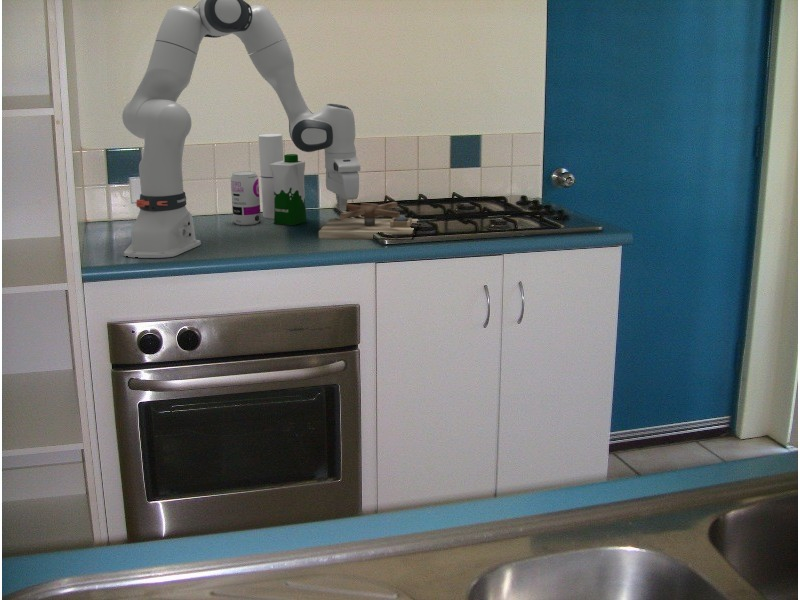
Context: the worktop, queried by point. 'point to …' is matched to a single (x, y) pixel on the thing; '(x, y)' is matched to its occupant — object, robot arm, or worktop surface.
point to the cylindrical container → (269, 169)
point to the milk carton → (289, 190)
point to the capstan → (370, 210)
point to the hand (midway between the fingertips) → (342, 210)
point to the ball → (401, 218)
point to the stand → (364, 227)
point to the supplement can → (245, 198)
